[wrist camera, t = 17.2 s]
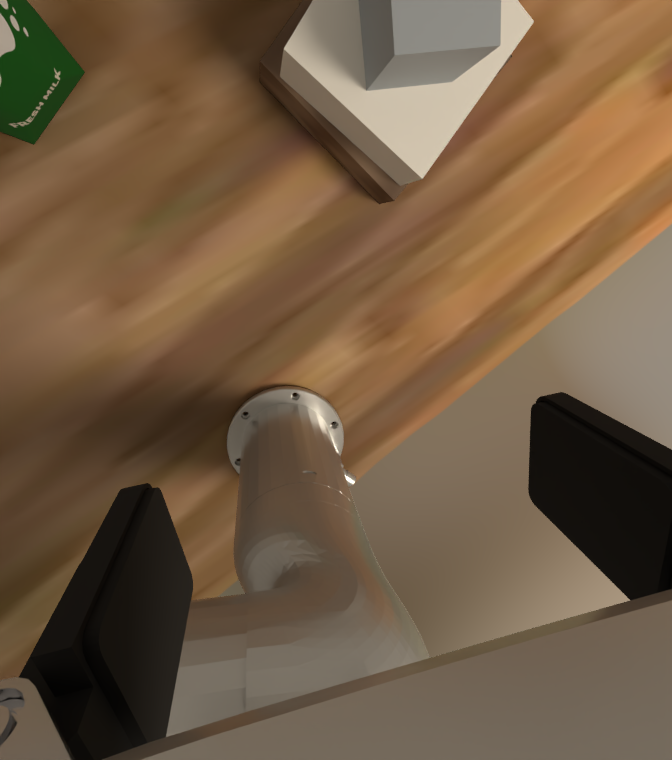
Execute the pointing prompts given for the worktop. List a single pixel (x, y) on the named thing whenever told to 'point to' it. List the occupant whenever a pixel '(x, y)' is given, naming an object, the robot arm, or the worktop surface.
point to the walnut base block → (324, 119)
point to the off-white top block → (386, 106)
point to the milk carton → (31, 71)
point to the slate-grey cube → (425, 39)
